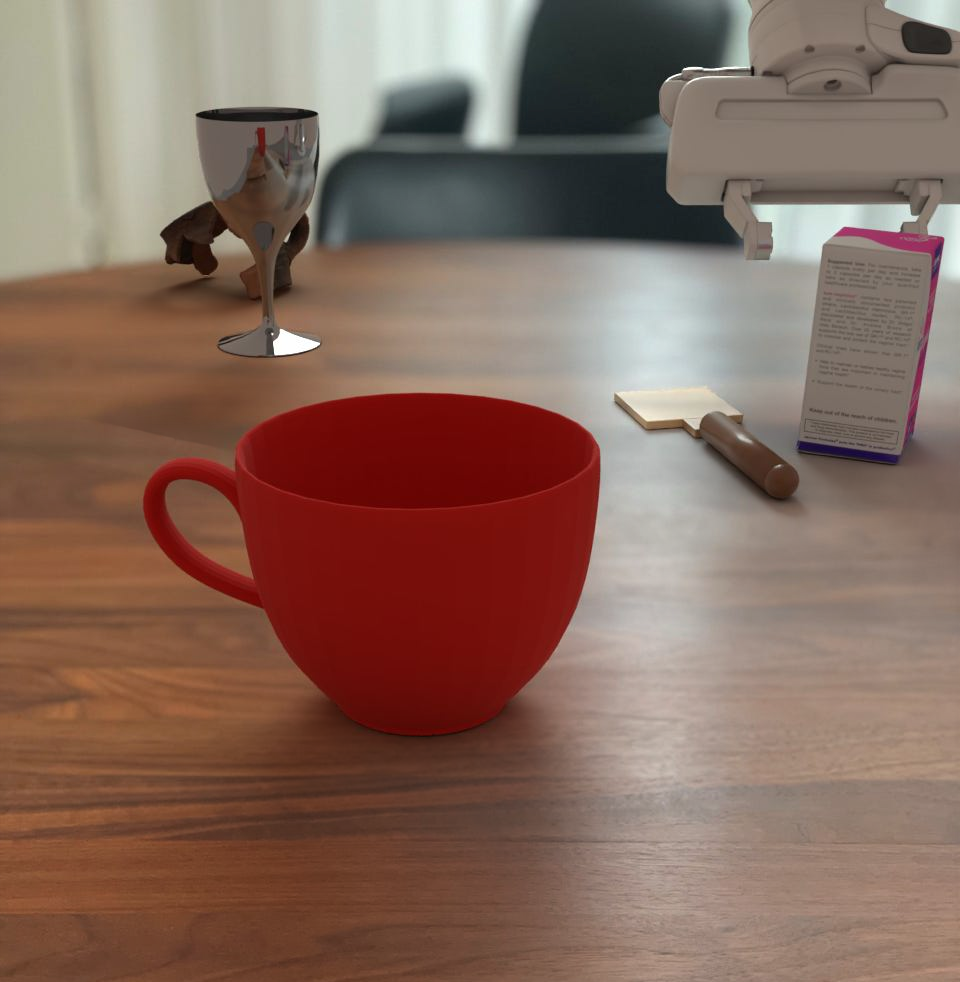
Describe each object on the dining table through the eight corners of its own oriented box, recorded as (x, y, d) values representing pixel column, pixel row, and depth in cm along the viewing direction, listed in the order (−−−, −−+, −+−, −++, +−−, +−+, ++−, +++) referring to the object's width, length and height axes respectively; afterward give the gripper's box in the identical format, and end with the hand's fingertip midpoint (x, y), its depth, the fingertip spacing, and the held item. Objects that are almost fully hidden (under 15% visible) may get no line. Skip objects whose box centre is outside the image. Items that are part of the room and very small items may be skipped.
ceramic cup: (216, 604, 65) (198, 378, 60) (607, 634, 62) (617, 401, 58) (97, 754, 53) (63, 488, 49) (570, 799, 51) (580, 523, 46)
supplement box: (902, 466, 81) (931, 252, 76) (793, 452, 83) (814, 242, 78) (918, 435, 86) (946, 232, 81) (815, 422, 88) (836, 223, 83)
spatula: (613, 400, 92) (614, 371, 91) (705, 393, 93) (707, 365, 92) (731, 508, 75) (734, 474, 75) (841, 498, 77) (845, 465, 76)
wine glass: (279, 364, 99) (266, 125, 92) (187, 346, 102) (168, 115, 96) (350, 338, 105) (343, 112, 98) (261, 322, 108) (248, 104, 102)
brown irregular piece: (227, 314, 112) (171, 213, 111) (186, 343, 121) (133, 250, 119) (351, 252, 118) (299, 155, 116) (303, 284, 126) (254, 194, 124)
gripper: (663, 34, 93) (672, 225, 89) (992, 33, 93) (1018, 224, 89) (652, 102, 99) (660, 283, 95) (962, 101, 99) (984, 283, 95)
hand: (836, 255), depth 92 cm, fingers open, 8 cm apart
